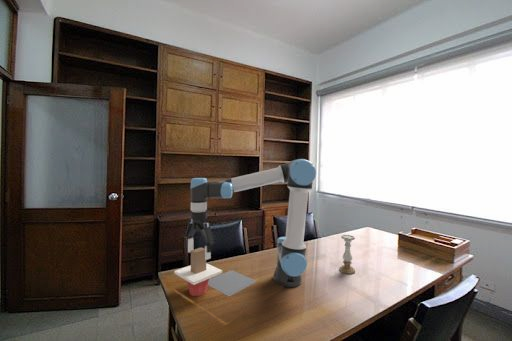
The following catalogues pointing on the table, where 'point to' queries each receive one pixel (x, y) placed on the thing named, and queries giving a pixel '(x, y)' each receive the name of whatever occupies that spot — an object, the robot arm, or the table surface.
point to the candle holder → (347, 255)
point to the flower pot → (198, 288)
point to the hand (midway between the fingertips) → (198, 255)
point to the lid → (198, 268)
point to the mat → (230, 282)
